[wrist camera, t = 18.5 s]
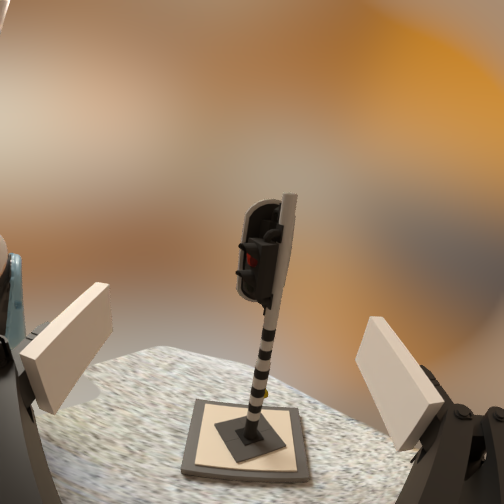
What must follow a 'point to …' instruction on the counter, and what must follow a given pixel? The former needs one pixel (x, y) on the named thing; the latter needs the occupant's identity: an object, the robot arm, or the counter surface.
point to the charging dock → (256, 469)
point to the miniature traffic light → (269, 296)
